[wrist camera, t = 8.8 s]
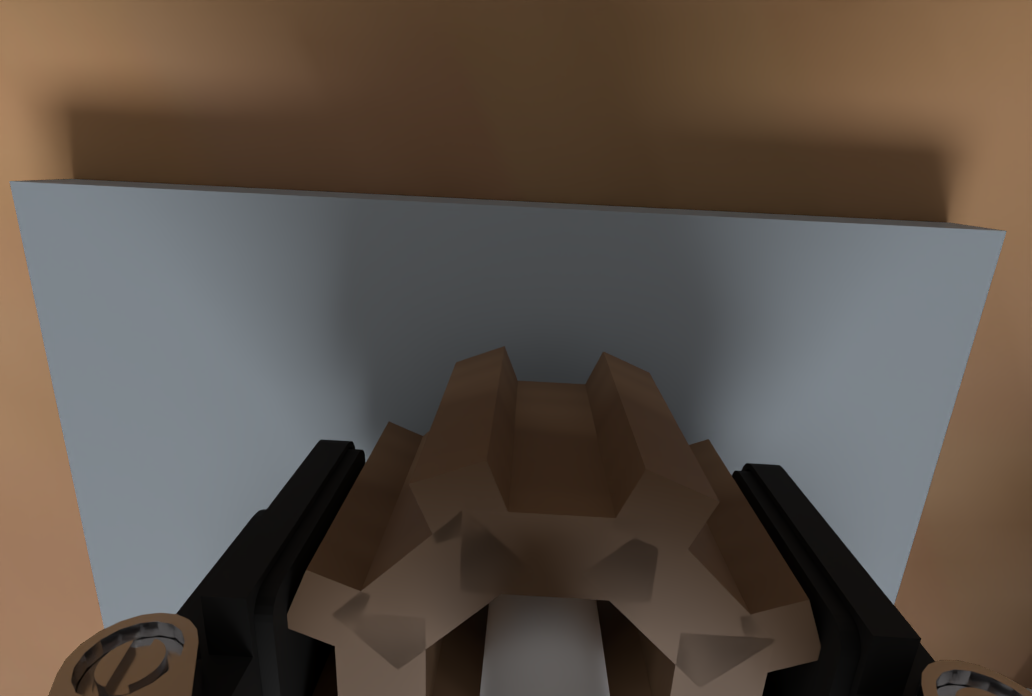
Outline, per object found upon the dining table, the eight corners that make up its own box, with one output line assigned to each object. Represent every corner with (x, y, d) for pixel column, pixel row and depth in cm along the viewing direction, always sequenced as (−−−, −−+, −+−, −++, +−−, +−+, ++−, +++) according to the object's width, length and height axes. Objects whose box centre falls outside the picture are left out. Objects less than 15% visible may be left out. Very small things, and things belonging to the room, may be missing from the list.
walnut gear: (367, 338, 10) (264, 448, 6) (742, 358, 10) (872, 481, 6) (376, 636, 12) (304, 857, 8) (690, 655, 12) (763, 887, 8)
